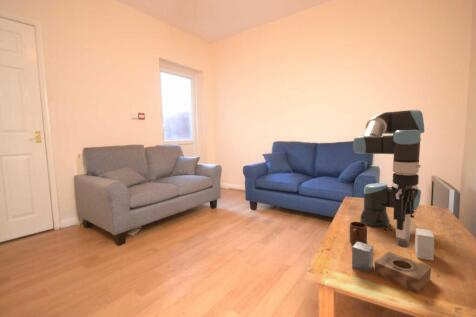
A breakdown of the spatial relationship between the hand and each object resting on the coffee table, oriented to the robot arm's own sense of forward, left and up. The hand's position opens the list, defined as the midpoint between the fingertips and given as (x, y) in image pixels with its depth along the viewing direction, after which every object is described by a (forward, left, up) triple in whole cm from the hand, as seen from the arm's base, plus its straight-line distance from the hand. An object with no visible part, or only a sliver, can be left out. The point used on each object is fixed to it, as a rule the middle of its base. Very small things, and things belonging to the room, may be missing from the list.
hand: (403, 235), depth 84 cm
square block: (-12, -5, -16) cm, 21 cm away
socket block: (0, 0, -16) cm, 16 cm away
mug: (-23, +12, -17) cm, 31 cm away
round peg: (0, 0, -4) cm, 4 cm away
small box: (0, +24, -17) cm, 29 cm away
